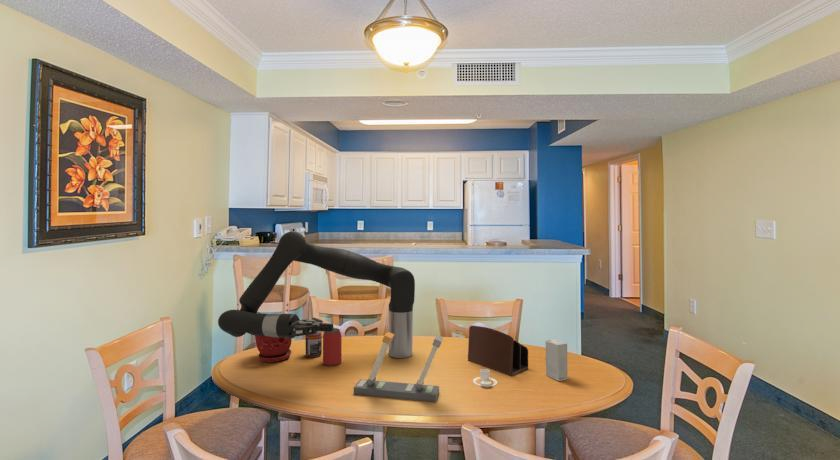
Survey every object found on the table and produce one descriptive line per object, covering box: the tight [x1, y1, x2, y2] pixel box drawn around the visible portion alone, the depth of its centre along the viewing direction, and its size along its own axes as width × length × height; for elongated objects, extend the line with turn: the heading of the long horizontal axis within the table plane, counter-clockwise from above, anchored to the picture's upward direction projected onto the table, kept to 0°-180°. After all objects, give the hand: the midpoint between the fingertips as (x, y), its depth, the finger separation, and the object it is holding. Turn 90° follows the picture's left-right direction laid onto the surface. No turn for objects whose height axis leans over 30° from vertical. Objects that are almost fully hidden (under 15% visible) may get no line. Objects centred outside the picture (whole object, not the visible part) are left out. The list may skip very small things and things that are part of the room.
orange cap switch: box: [366, 331, 394, 386], centre depth 128 cm, size 4×2×16 cm, turn 169°
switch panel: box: [353, 379, 440, 403], centre depth 127 cm, size 6×25×2 cm, turn 79°
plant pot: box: [254, 335, 293, 363], centre depth 156 cm, size 13×13×12 cm
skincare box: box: [545, 338, 568, 382], centre depth 140 cm, size 6×4×12 cm
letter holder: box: [467, 325, 529, 377], centre depth 151 cm, size 10×20×14 cm, turn 41°
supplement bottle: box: [305, 331, 323, 359], centre depth 160 cm, size 6×6×11 cm
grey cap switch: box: [415, 334, 444, 390], centre depth 125 cm, size 4×2×16 cm, turn 169°
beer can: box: [322, 327, 343, 367], centre depth 152 cm, size 7×7×12 cm
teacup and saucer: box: [472, 368, 498, 388], centre depth 136 cm, size 9×8×4 cm
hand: (332, 327), depth 130 cm, fingers closed
